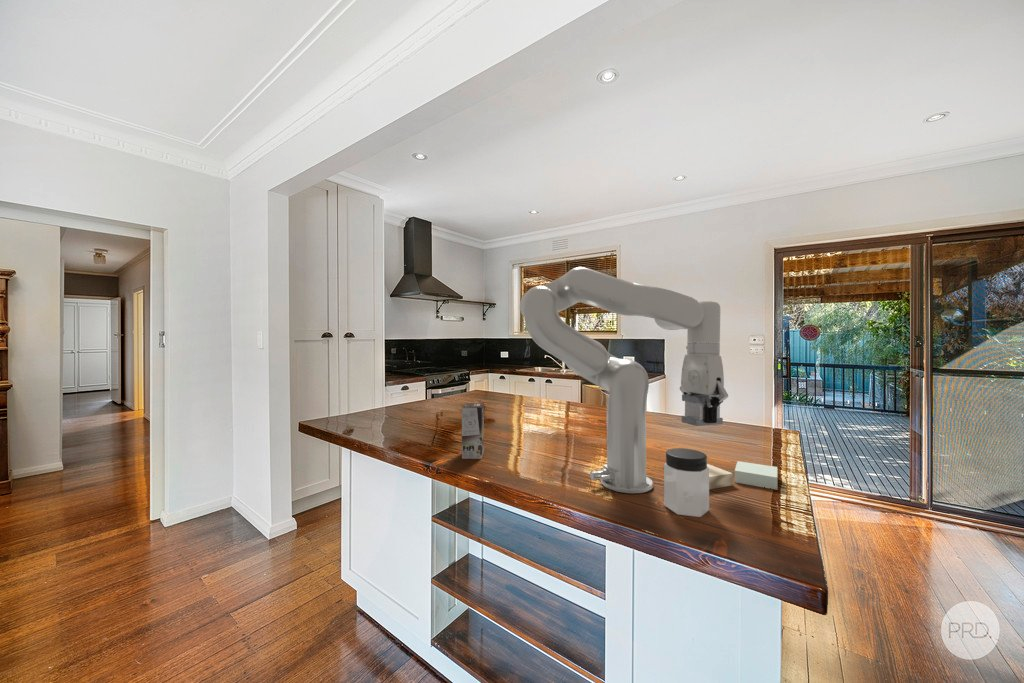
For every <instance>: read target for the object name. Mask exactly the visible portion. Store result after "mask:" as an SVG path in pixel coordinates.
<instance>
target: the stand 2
mask: <svg viewBox="0 0 1024 683" xmlns="http://www.w3.org/2000/svg"><path fill="white" fill-rule="evenodd" d="M734 483H737V484H743V485H747V486H748V485H749V486H755V487H760V488H764V487H765V488H766V489H770V488H771V489H770V490H778V466H773V465H772V466H771V465H766V464H759V463H752V462H748V461H747V462H745V461H740V460H737V462H736V465H735V468H734Z"/></svg>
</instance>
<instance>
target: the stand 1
mask: <svg viewBox="0 0 1024 683" xmlns="http://www.w3.org/2000/svg"><path fill="white" fill-rule="evenodd" d="M707 467H709V490H713V489H719V488H724V487H730V486H733V485H734V484H733V483H734V482H733V481H734V478H733V477H734V476H733V475H734V473H732V472H731V471H727V470H725V469H722V468H720V467H717V466H715V465H712V464H709V463H707Z"/></svg>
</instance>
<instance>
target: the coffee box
mask: <svg viewBox="0 0 1024 683" xmlns="http://www.w3.org/2000/svg"><path fill="white" fill-rule="evenodd" d="M484 403H485V402H473V403H472V402H471V403H464V404H463V406H462V407H461V459H463V460H481V459H482V458H483V455H484V451H485V428H484V426H485V424H484V423H485V422H484V420H485V418H484V416H485V415H484V414H485V411H484V409H485V408H484Z"/></svg>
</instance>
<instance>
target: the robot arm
mask: <svg viewBox="0 0 1024 683" xmlns="http://www.w3.org/2000/svg"><path fill="white" fill-rule="evenodd" d="M578 303H582V304H585V305H588V306H592V307H596V308H598V309H601V310H605V311H608V312H609V313H613V314H616V315H621V316H627V317H628V316H629V317H634V316H635V317H645V318H651V319H653V320H654V322H655V324H656V325H657V326H658V327H660V328H661V329H663V330H668V331H677V330H687V331H686V332H687V338H686V339H687V342H686V343H687V344H686V346H685V348H686V349H685V350H686V354H684V357H683V361H682V366H681V374H680V386H679V390H680V391H681V393H682V394H699V395H705V397H706V402H707V406H708V407H705V423H716V422H717V407H719V406H720V407H721V404H722V403H724V401H725V400H727V398H729V394H728V392H727V391H726V389H725V381H724V380H725V377H724V376H725V375H724V373H725V372H724V366H723V360H722V356H721V355H720V352H721V351H720V350H721V304H720V303H719V302H717V301H711V300H710V301H706V300H705V301H704V300H703V301H698V300H697V299H695V298H694V297H691V296H689V295H686V294H683V293H679V292H676V291H674V290H671V289H668V288H667V289H666V288H663V287H657V286H651V285H647V284H642V283H638V282H632V281H627V280H626V279H625V280H624V279H622V278H618V277H615V276H612V275H610V274H606V273H603V272H599V271H597V270H594V269H592V268H587V267H582V266H578V267H573V268H572V269H570V270H568V271H567V272H566V273H565V274H563V275H562V276H559V277H558V278H556V279H554V280H553V281H551V282H548V283H546V284H543V285H536V286H532V287H531V288H530V289H528V290H527V291H526V293H524V294H523V296H522V297H521V299H520V301H519V310H520V313H521V315H522V316H523V317H524V323H525V327H526V330H527V331H528V334H529V336H530V337H531V339H532V340H533V342H534V343H535V344H536V345H537V346H538V347H540V348H541V349H542V350H544V351H546V352H547V353H548V354H550V355H552V356H554V358H556V359H558V360H560V361H561V362H563V363H565V366H566V367H567V368H568V369H569V370H571V372H572V373H575V374H576V375H578V376H580V377H581V378H583V379H585V380H587V381H588V382H590V383H592V384H594V385H596V386H597V387H598V388H601V389H602V390H604V391H606V392H608V398H607V404H606V405H607V406H606V464H603V468H602V469H600V470H594V471H590V472H589V477H590V479H591V480H594V481H595V480H599V481H600V483H601V485H603V487H605V488H606V489H609V490H611V491H614V492H619V493H622V494H643V493H646V492H649V491H651V490H652V489H653V488H654V482H653V480H652V479H651V478H650V477H649V476H647V422H646V421H647V419H646V417H647V416H646V415H647V414H646V413H647V400H648V394H649V387H650V386H649V385H650V383H649V382H650V379H649V374H648V372H647V371H646V369H645V368H644V367H643V366H642V364H640V363H639V362H637V361H635V360H633V359H628V358H627V359H626V358H625V359H624V358H618V357H617V356H614V355H613V354H612V353H609V352H608V351H607V349H606V347H605V346H604V345H603V344H602V343H601V342H599V341H597V340H595V339H593V338H591V337H589V336H588V335H586V334H584V333H582V332H581V331H579V330H577V329H576V328H574V327H572V326H570V325H569V324H567V323H566V322H565V321H564V320H563V319H562V318H561V317H560V314H559V313H561V312H563V311H564V310H567V309H568V308H570V307H572V306H574V305H577V304H578ZM711 397H713V400H711Z"/></svg>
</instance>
